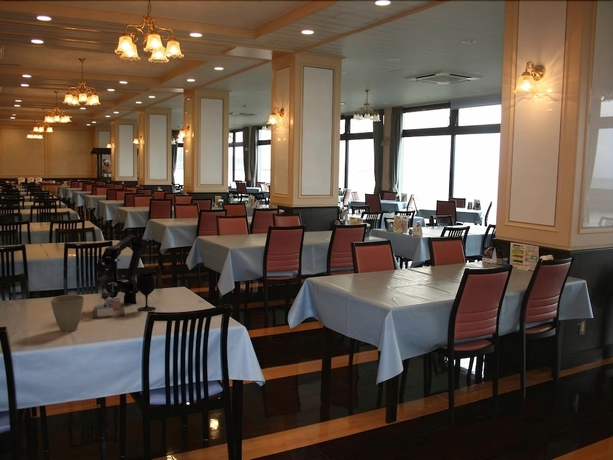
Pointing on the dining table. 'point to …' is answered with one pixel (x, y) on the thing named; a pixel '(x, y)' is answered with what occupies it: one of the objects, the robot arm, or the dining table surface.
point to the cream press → (105, 310)
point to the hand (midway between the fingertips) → (112, 296)
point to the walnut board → (116, 313)
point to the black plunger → (104, 297)
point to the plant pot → (67, 311)
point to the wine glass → (146, 288)
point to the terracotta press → (114, 303)
